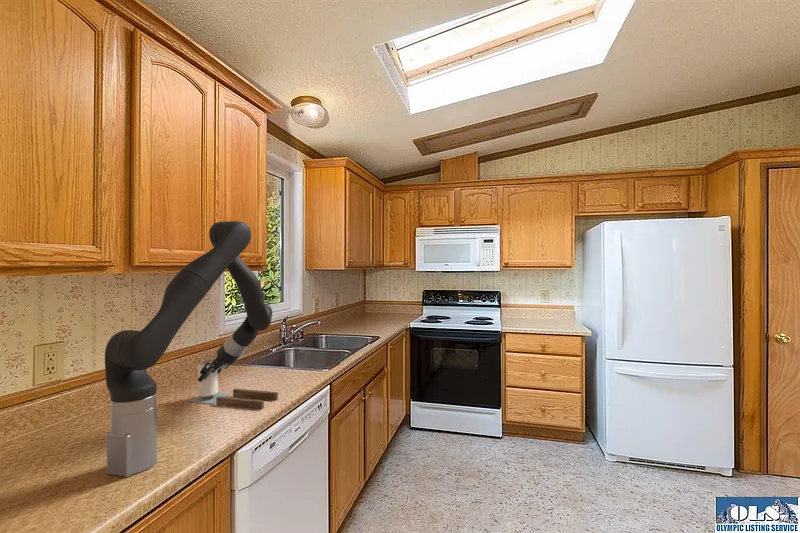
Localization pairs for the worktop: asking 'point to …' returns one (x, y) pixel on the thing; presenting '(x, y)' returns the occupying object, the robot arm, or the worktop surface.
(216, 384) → the can
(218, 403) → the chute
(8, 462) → the worktop surface
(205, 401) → the pad
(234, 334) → the robot arm
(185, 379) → the worktop surface
